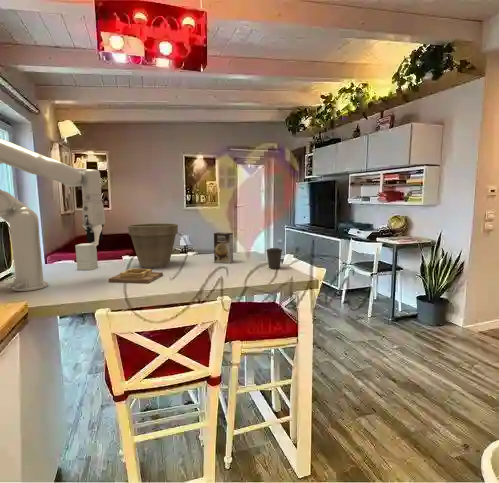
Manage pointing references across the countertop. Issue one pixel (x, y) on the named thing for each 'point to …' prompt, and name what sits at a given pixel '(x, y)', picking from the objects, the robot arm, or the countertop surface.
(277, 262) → the coffee cup
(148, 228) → the plant pot
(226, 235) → the coffee box
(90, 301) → the countertop surface
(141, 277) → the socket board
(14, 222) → the robot arm
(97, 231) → the lightbulb
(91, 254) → the supplement box
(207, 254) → the countertop surface
